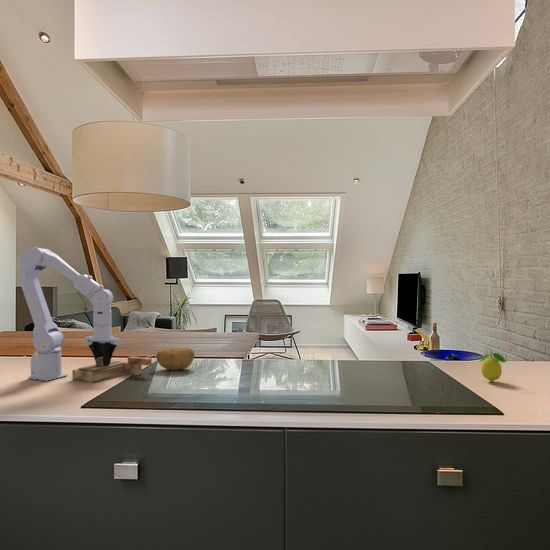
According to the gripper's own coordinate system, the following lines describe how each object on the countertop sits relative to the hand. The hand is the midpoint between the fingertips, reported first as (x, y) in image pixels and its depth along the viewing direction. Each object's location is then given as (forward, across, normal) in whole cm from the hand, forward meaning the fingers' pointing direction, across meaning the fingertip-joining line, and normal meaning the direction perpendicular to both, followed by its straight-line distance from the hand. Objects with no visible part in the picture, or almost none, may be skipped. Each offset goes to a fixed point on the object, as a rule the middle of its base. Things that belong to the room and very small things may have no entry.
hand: (103, 364), depth 140 cm
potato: (+4, -17, -17) cm, 24 cm away
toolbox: (+4, -3, 0) cm, 5 cm away
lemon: (+4, -119, -42) cm, 126 cm away
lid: (+1, 0, 0) cm, 1 cm away
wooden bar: (0, -11, -6) cm, 12 cm away
